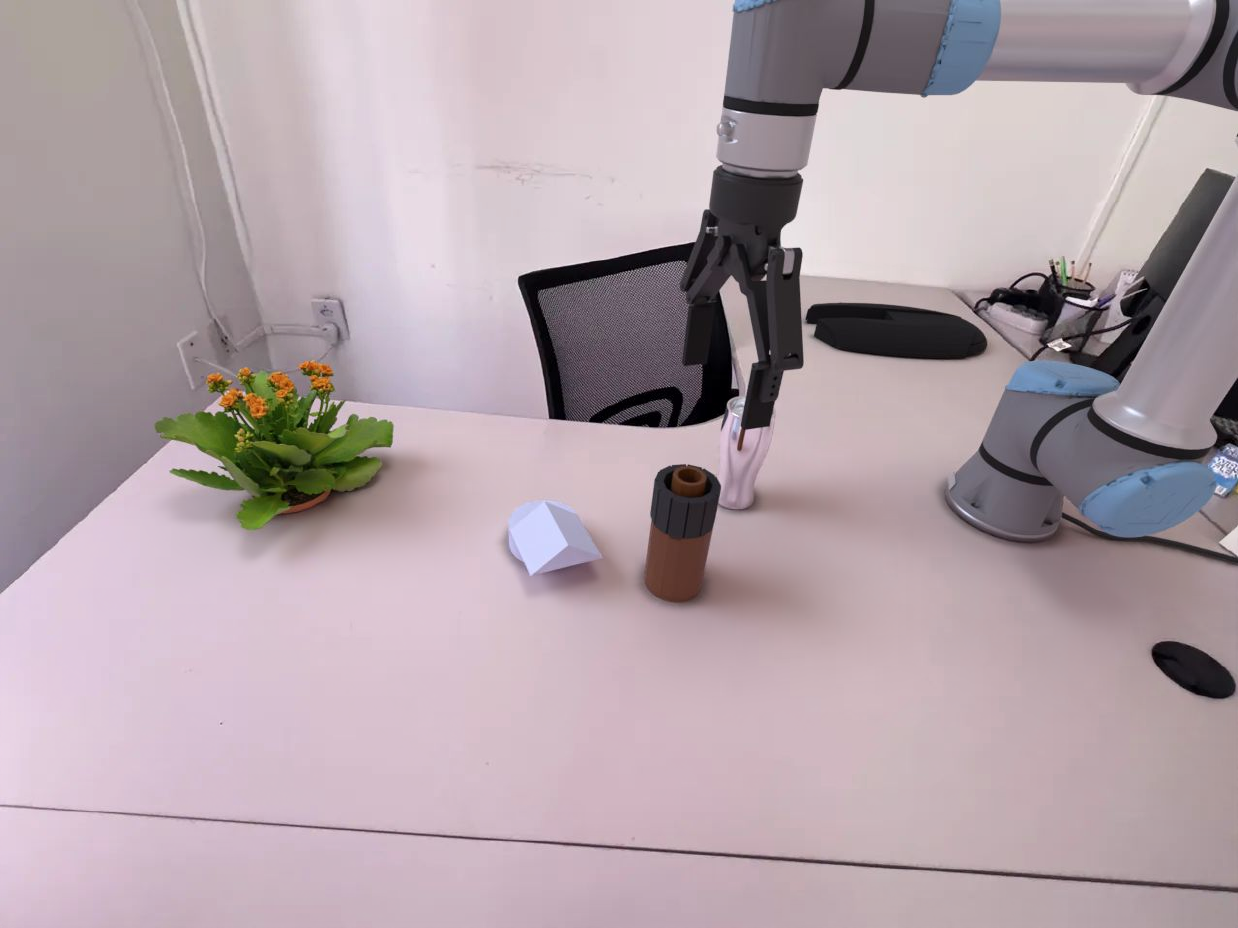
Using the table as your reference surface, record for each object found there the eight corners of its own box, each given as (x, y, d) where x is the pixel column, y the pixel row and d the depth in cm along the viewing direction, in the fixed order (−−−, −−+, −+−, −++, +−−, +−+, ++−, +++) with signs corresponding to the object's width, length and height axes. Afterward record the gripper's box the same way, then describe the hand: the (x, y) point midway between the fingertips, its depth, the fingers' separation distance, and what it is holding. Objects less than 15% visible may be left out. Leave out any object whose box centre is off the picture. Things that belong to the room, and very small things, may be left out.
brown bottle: (706, 569, 82) (727, 465, 73) (694, 608, 76) (715, 501, 67) (653, 555, 84) (667, 451, 74) (637, 592, 78) (650, 485, 69)
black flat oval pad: (1006, 365, 141) (1016, 344, 138) (822, 352, 140) (827, 330, 137) (959, 321, 162) (966, 301, 159) (797, 309, 160) (802, 289, 158)
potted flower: (337, 566, 78) (307, 444, 68) (141, 549, 78) (83, 425, 68) (404, 452, 99) (389, 345, 89) (249, 438, 99) (217, 330, 89)
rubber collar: (719, 507, 76) (726, 473, 74) (706, 545, 71) (713, 509, 68) (660, 492, 78) (664, 458, 75) (643, 529, 72) (647, 493, 69)
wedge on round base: (601, 577, 80) (565, 514, 89) (604, 536, 76) (566, 474, 85) (530, 596, 76) (500, 528, 86) (530, 554, 72) (498, 487, 82)
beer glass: (755, 515, 92) (777, 425, 83) (706, 507, 93) (723, 416, 84) (757, 487, 97) (778, 399, 89) (710, 479, 98) (727, 391, 90)
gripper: (661, 142, 63) (644, 345, 75) (802, 206, 44) (748, 465, 56) (730, 142, 65) (702, 339, 77) (893, 203, 46) (823, 453, 58)
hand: (722, 392), depth 66 cm, fingers open, 13 cm apart
